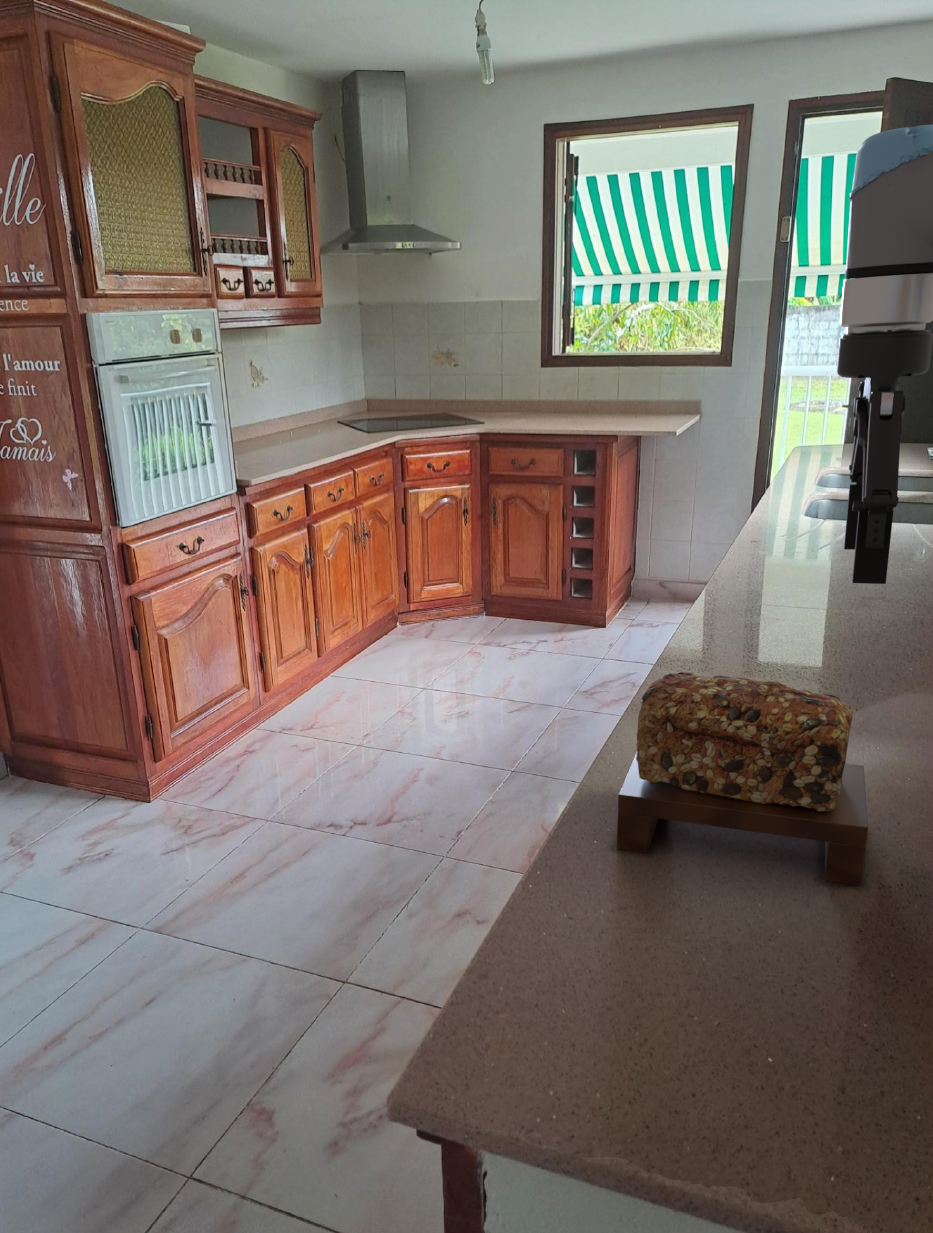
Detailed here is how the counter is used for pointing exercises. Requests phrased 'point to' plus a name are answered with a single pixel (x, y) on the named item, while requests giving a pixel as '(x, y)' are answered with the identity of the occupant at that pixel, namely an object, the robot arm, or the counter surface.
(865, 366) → the robot arm
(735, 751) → the bread
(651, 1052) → the counter surface
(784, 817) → the shelf
